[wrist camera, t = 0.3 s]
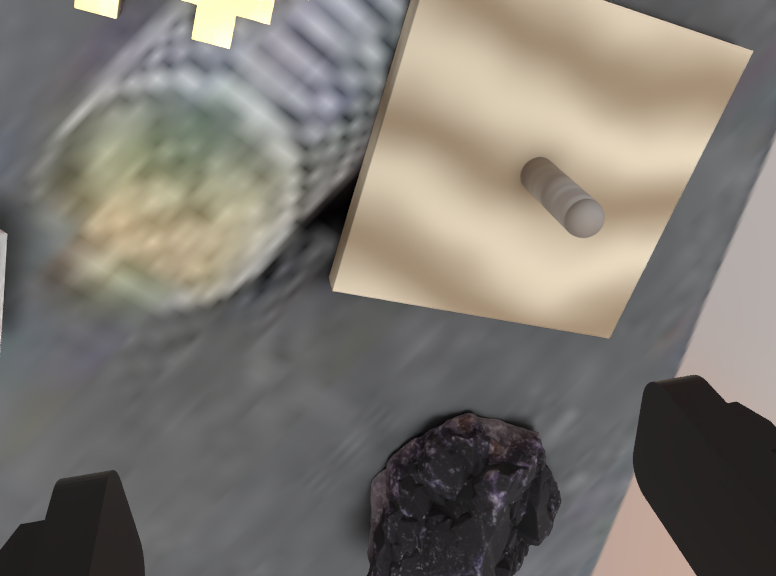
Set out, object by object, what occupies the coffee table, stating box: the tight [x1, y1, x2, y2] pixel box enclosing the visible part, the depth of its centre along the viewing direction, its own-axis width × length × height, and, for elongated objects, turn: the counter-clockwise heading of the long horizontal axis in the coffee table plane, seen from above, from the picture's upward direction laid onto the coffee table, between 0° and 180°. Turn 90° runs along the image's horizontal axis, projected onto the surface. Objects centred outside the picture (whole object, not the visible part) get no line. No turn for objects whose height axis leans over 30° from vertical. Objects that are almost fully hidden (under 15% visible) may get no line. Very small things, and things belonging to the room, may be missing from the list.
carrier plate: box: [329, 0, 753, 338], centre depth 35 cm, size 17×17×8 cm
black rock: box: [367, 413, 561, 576], centre depth 45 cm, size 13×14×10 cm
